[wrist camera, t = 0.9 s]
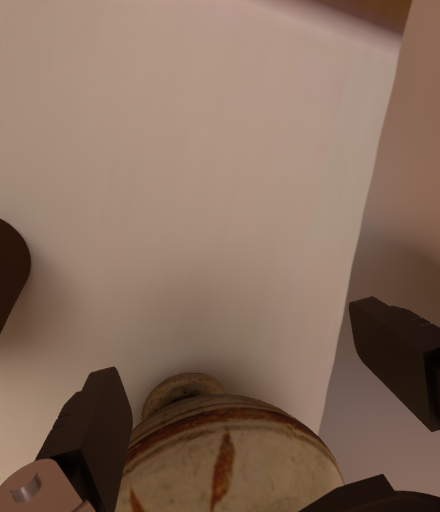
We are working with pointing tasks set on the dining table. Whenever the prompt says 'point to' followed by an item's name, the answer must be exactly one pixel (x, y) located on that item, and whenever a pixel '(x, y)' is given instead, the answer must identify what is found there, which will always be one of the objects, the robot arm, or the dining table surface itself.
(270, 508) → the amphora
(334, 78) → the dining table surface
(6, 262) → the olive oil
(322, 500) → the robot arm
